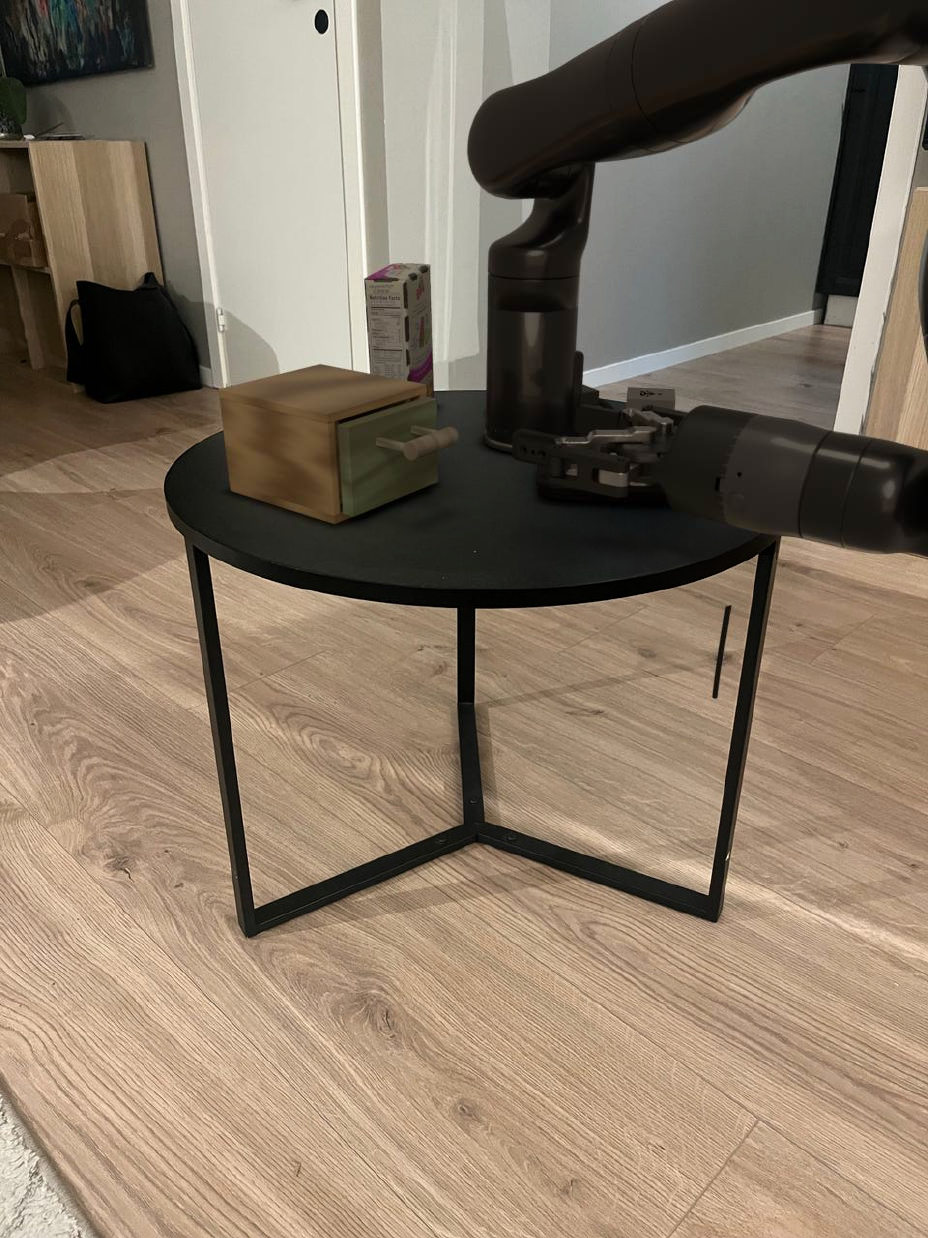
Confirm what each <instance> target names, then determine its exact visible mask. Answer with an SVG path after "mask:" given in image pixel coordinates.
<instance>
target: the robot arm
mask: <svg viewBox="0 0 928 1238" xmlns="http://www.w3.org/2000/svg"><path fill="white" fill-rule="evenodd" d="M849 64H851V65H852V64H874V65H875V64H876V65H891V66H892V65H893V66H912V67H913V66H915V67H921V70H922V72H923V75H924V77H925V79H926V82H927V84H928V0H669V1H668V2H667V3H664V4H662V5H660V6H659V7H657V8H655V9H654V10H652V11H650V12H648V13H647V14H645V15H644V16H642V17H640V18H638V19H636V20H635V21H633V22H631V23H629V24H627V25H626V26H624V28H622V29H621V30H619V31H617V32H616V33H613V35H611V36H609V37H607V38H605V39H604V40H602V41H600V42H598V43H597V44H595V45H593V46H592V47H589V48H588V49H586V50H584V51H582V52H580V54H578V55H576V56H575V57H573V58H571V59H570V60H568V61H566V62H565V63H563V64H562V65H560V66H558V67H556V68H554V69H553V70H551V71H549V72H546V73H545V74H542V75H540V76H537V77H535V78H532V79H529V80H526V81H523V82H520V83H517V84H514V85H511V86H508V87H505V88H502V89H499V90H497V91H495V92H493V93H492V94H490V95H489V96H488V97H487V98H485V100H484V101H483V102H482V103H481V105H480V106H479V107H478V109H477V110H476V113H475V114H474V117H473V119H472V121H471V124H470V127H469V131H468V135H467V140H466V141H467V142H466V157H467V162H468V163H467V164H468V166H469V169H470V172H471V174H472V176H473V178H474V180H475V182H476V183H477V184H478V186H479V187H480V188H481V189H482V190H484V191H485V192H486V193H487V194H489V195H491V196H493V197H495V198H499V199H503V200H508V201H509V200H510V201H515V200H516V201H517V200H533V204H532V208H531V212H530V213H529V215H528V216H527V218H526V219H525V220H524V221H523V222H522V223H521V224H520V225H518V227H516V228H515V229H513V230H512V231H511V232H509V233H506V234H505V235H503V236H501V237H498V238H497V239H496V240H494V241H493V242H491V244H489V246H488V250H487V264H486V265H487V267H486V270H487V271H486V272H487V273H486V274H487V275H486V304H487V305H486V360H485V361H486V363H485V364H486V365H485V366H486V370H485V371H486V372H485V375H486V377H485V378H486V379H485V380H486V381H485V409H484V410H483V421H484V422H485V423H484V424H485V426H484V427H485V431H484V442H485V444H486V445H487V446H489V447H491V448H492V449H495V450H498V451H502V452H505V453H506V452H507V453H511V455H512V458H513V459H514V460H515V461H518V462H523V463H528V464H532V465H535V466H537V465H539V466H544V467H548V474H547V482H548V483H550V484H554V485H560V486H564V487H569V488H574V489H579V490H583V491H588V492H593V493H597V494H602V495H607V496H612V497H616V498H623V497H627V496H628V487H629V484H630V485H631V486H649V485H651V484H658V485H660V486H661V488H662V489H663V491H664V493H665V495H666V497H667V501H668V505H669V507H670V509H672V511H674V512H675V513H677V514H680V515H683V516H688V517H692V518H697V519H701V520H706V521H710V522H713V523H718V524H721V525H727V526H730V527H734V528H739V529H743V530H747V531H751V532H756V533H760V534H764V535H769V536H777V537H788V538H794V539H795V538H796V539H801V540H806V541H810V542H814V543H819V544H823V545H827V546H831V547H835V548H840V549H843V550H848V551H854V552H858V553H863V554H873V555H892V554H893V555H895V554H909V555H916V556H920V557H925V558H928V450H926V449H923V448H920V447H916V446H911V445H908V444H904V443H901V442H897V441H893V440H889V439H883V438H879V437H873V436H868V435H863V434H861V435H860V434H855V433H850V432H844V431H837V430H832V429H828V428H824V427H821V426H818V425H814V424H811V423H808V422H805V421H800V420H797V419H792V418H785V417H780V416H773V415H767V414H761V413H755V412H750V411H743V410H739V409H732V408H726V407H719V406H715V405H708V404H701V405H698V406H695V407H694V408H692V409H691V410H689V411H682V410H677V409H675V410H673V409H668V408H663V407H657V406H653V405H646V406H642V412H640V411H639V410H636V409H634V408H628V409H626V408H624V409H623V410H619V409H615V408H614V406H613V405H611V404H610V403H609V402H607V401H606V400H605V399H602V398H600V393H601V392H600V390H599V389H596V388H594V387H591V386H588V385H587V384H584V382H583V381H584V380H583V379H584V363H585V355H584V353H583V352H582V351H581V350H578V349H577V345H578V343H577V342H578V325H579V323H578V321H579V303H580V302H579V301H580V285H581V284H580V282H581V267H582V259H583V255H584V252H585V250H586V246H587V243H588V239H589V233H590V224H591V211H592V203H593V193H594V185H595V177H596V165H597V164H599V163H611V162H618V161H625V160H633V159H638V158H644V157H650V156H654V155H660V154H664V153H667V152H670V151H672V150H675V149H678V148H681V147H684V146H686V145H688V144H691V143H694V142H697V141H701V140H703V139H705V138H707V137H709V136H712V135H714V134H715V133H718V132H719V131H721V130H723V129H725V128H726V127H727V126H728V125H730V124H731V123H732V122H733V121H735V119H737V118H738V117H739V116H740V115H741V113H742V112H743V111H744V110H745V108H746V107H747V106H748V104H749V103H750V102H751V100H752V99H753V97H754V95H755V94H756V92H757V91H758V90H759V89H761V88H763V87H766V85H769V84H771V83H774V82H777V81H780V80H783V79H786V78H790V77H793V76H796V75H799V74H803V73H806V72H810V71H814V70H819V69H822V68H828V67H833V66H839V65H841V66H842V65H849ZM917 283H918V284H917V286H918V287H917V296H918V299H917V300H918V312H919V321H920V328H921V334H922V335H921V336H922V341H923V346H924V351H925V357H926V361H927V362H926V363H927V364H928V228H927V229H926V234H925V239H924V242H923V246H922V250H921V256H920V263H919V270H918V282H917ZM580 435H583V436H580ZM604 444H606V447H607V454H606V453H601V447H603V446H604ZM580 448H586V449H588V450H585V449H580ZM571 460H574V461H576V462H577V464H571ZM732 607H733V606H732V604H730V605H725V607H724V613H723V618H722V624H721V631H720V638H719V643H718V651H717V657H716V662H715V671H714V678H713V686H712V695H711V698H712V699H714V700H717V699H718V697H719V690H720V689H719V688H720V683H721V682H720V681H721V674H722V667H723V660H724V654H725V648H726V642H727V635H728V629H729V623H730V619H731V618H730V617H731V611H732Z"/></svg>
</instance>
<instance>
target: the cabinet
mask: <svg viewBox="0 0 928 1238" xmlns="http://www.w3.org/2000/svg"><path fill="white" fill-rule="evenodd" d="M218 396H219V405H220V413H221V420H222V421H221V422H222V430H223V438H224V447H225V456H226V466H227V472H228V481H229V487H230V492H232V493H235V494H239V495H242V496H245V497H248V498H251V499H254V500H258V501H260V502H263V503H266V504H270V505H272V506H276V507H279V508H282V509H285V510H288V511H292V512H294V513H297V514H301V515H304V516H307V517H310V518H313V519H317V520H319V521H324V522H325V523H329V524H331V525H332V524H333V525H336V524H339V523H341V522H344V521H346V520H349V519H351V518H352V517H351V516H348V515H345V514H343V503H342V504H340V501H339V485H338V470H337V454H336V439H335V423H334V422H335V421H338V420H341V419H344V418H348V417H351V416H354V415H357V414H361V413H364V412H367V411H370V410H373V409H377V408H380V407H383V406H386V405H390V404H393V403H396V402H399V401H402V400H406V399H409V398H411V402H412V401H415V400H418V399H422V398H425V397H427V394H426V384H420V383H415V382H410V381H405V380H400V379H395V378H390V377H384V376H379V375H374V374H370V372H369V373H368V372H363V371H358V370H353V369H348V368H342V367H337V366H332V365H328V364H321V363H318V364H315V365H311V366H306V367H302V368H299V369H294V370H291V371H286V372H281V373H279V374H278V373H277V374H274V375H270V376H265V377H262V378H258V379H253V380H250V381H246V382H242V383H238V384H234V385H229V386H226V387H222V388H219V389H218Z"/></svg>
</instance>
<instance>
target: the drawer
mask: <svg viewBox="0 0 928 1238" xmlns="http://www.w3.org/2000/svg"><path fill="white" fill-rule="evenodd" d="M334 423H335V439H336V454H337V470H338V485H339V501H340V504H342V503H343V514H345V515H348V516H351V518H355V517H357V516H359V515H362V514H364V513H367V512H369V511H371V510H374V509H376V508H378V507H381V506H383V505H385V504H388V503H391V502H393V501H395V500H398V499H401V498H403V497H405V496H407V495H409V494H412V493H415V492H417V491H419V490H421V489H424V488H427V487H429V486H431V485H434V484H436V483H438V482H439V456H438V455H439V451H440V452H441V451H443V450H445V449H448V448H450V447H453V446H455V445H457V444H458V442H459V438H460V436H459V432H458V430H457V429H456V428H454V427H452V426H447V427H444V428H442V429H439V430H438V398H435V397H434V398H430V397H425V398H422V399H418V400H415V401H412V402H411V398H409V399H406V400H402V401H399V402H396V403H393V404H390V405H386V406H383V407H380V408H377V409H373V410H370V411H367V412H364V413H361V414H357V415H354V416H351V417H348V418H344V419H341V420H338V421H335V422H334Z"/></svg>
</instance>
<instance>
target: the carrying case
mask: <svg viewBox="0 0 928 1238" xmlns="http://www.w3.org/2000/svg"><path fill="white" fill-rule="evenodd" d="M580 449H585V450H588V449H586V448H580ZM601 453H606V454H607V446H602V447H601ZM571 464H577V462H576V461H574V460H571ZM547 474H548V467H544V466H539V465H536V474H535V485H536V487H537V488H538V489H539V490H540V491H541V492H542V494H543V495H544V496H545V497H546V498H548V499H552V500H558V501H559V500H560V501H579V502H580V501H581V502H603V503H604V502H605V503H629V504H631V503H632V504H634V503H637V504H665V505H666V504H668V501H667V497H666V495H665V493H664V491H663V489H662V488H661V486H660V485H658V484H651V485H649V486H631V485H630V484H629V487H628V496H627V497H623V498H616V497H612V496H607V495H602V494H597V493H593V492H588V491H583V490H579V489H574V488H569V487H564V486H560V485H554V484H550V483H548V482H547ZM668 505H669V504H668Z"/></svg>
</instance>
